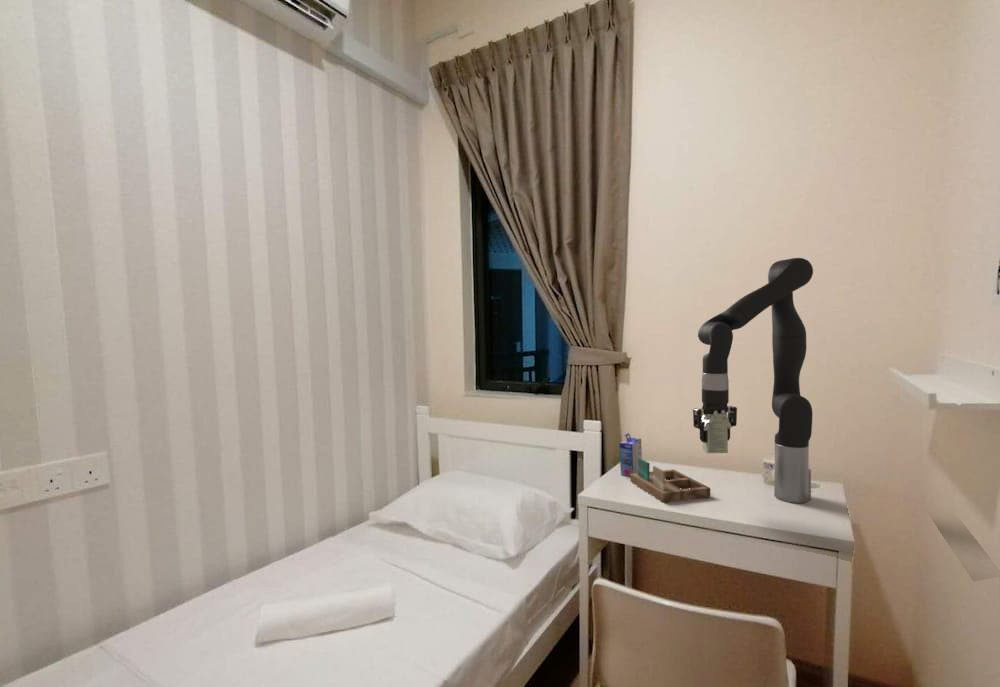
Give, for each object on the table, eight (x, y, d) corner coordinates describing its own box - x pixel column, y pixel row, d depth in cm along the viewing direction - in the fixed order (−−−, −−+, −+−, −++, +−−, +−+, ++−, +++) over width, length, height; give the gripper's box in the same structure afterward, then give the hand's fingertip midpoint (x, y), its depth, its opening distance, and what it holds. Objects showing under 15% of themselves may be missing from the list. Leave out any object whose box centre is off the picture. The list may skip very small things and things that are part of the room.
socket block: (673, 477, 176) (673, 452, 176) (710, 497, 157) (710, 469, 156) (630, 482, 172) (630, 456, 172) (663, 502, 153) (663, 474, 152)
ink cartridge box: (628, 468, 189) (628, 431, 188) (642, 470, 186) (642, 432, 185) (619, 474, 181) (619, 436, 180) (633, 477, 178) (633, 438, 177)
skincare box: (722, 449, 152) (722, 411, 151) (728, 453, 147) (728, 413, 147) (702, 449, 152) (701, 411, 152) (706, 453, 148) (706, 413, 147)
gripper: (702, 390, 143) (702, 446, 144) (743, 387, 147) (743, 442, 148) (686, 387, 151) (687, 440, 151) (726, 384, 154) (726, 436, 155)
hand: (715, 441), depth 149 cm, fingers closed on skincare box, 7 cm apart
